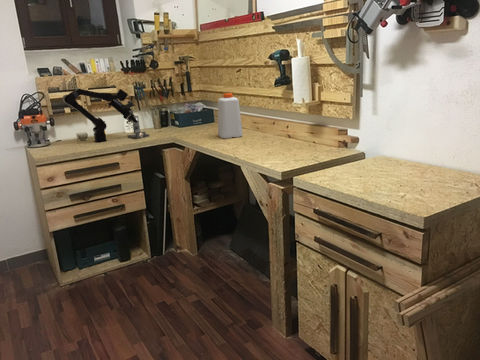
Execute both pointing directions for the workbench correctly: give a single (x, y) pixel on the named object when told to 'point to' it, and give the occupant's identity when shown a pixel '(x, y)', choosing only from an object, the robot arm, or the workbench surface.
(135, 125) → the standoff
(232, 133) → the plastic bottle
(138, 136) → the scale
